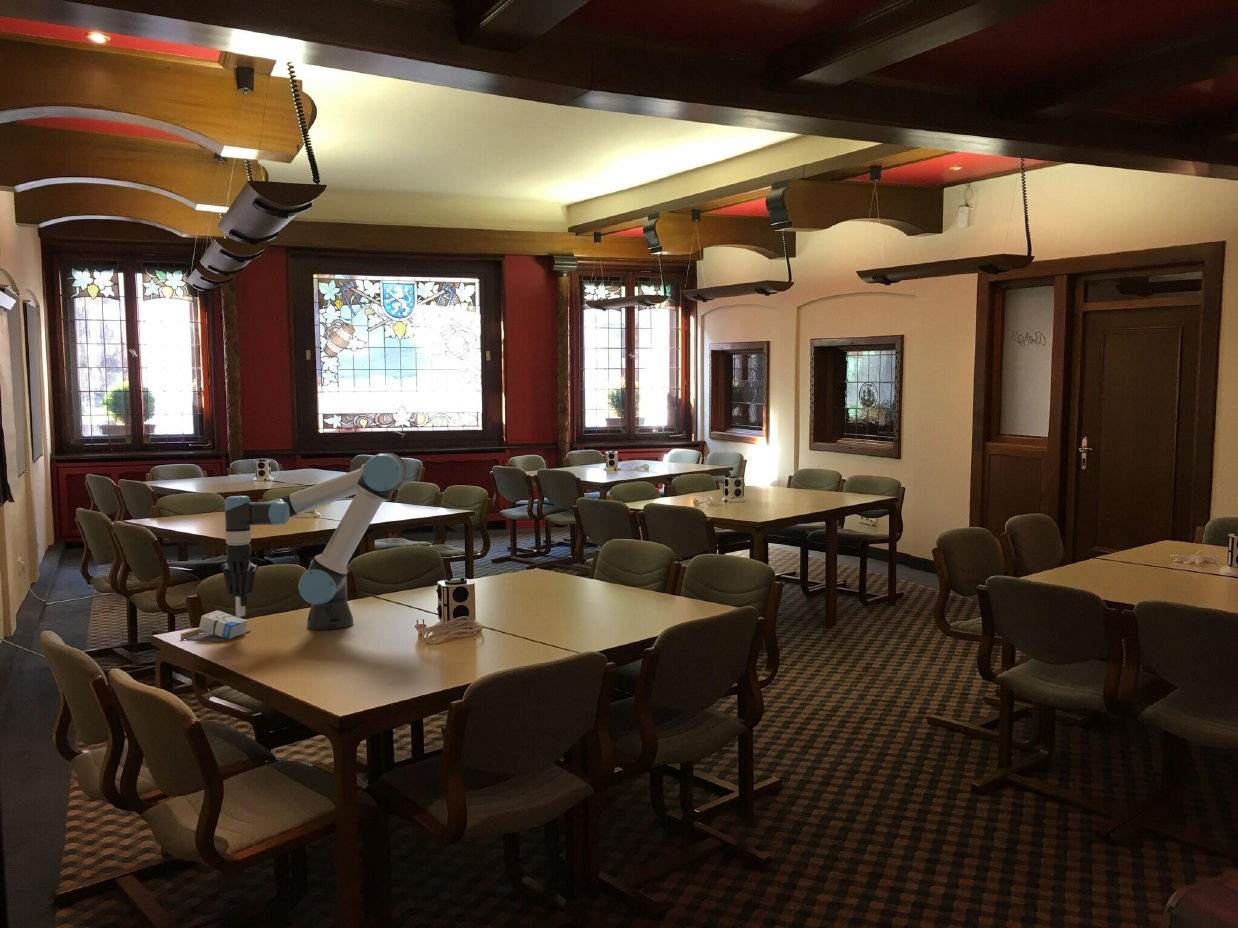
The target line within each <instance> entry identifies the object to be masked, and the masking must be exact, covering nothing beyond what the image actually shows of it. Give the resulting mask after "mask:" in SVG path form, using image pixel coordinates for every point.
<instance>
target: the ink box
mask: <svg viewBox="0 0 1238 928" xmlns="http://www.w3.org/2000/svg"><path fill="white" fill-rule="evenodd" d="M199 621H200V623H199V627H198V628H199V629H200V630H203V631H206V632H209V633H212V634H215V635H217V636H220V637H223V638H226V639H227V640H232V639H234V638H236V637H239V635H240V636H242V634H243V635H245V630H247V625H248V620H247V619H244V618H241V617H236V615H233V614H230V613H226V612H224V611H221V610H215V611H211V612H209V613H206V614H203V615H201V618H200V620H199Z"/></svg>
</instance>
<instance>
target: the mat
mask: <svg viewBox="0 0 1238 928" xmlns="http://www.w3.org/2000/svg"><path fill="white" fill-rule="evenodd" d="M203 632H204V633H203ZM251 632H252V631H251V630H248V629H246V630H245V634H248V633H251ZM199 633H203V634H199ZM245 634H242V635H245ZM242 635H239V636H242ZM239 636H238V637H239ZM181 639H186V640H185V641H193V642H195V641H197V642H211V643H212V642H213V643H221V642H223V641H224V642H225V641H227V640H228V639H226V638H223V637H220V636H217V635H215V634H212V633H209V632H206V631H203V630H200V629H199V627H198V628H195V629H192V630H188V631H186V632H182V633H180V640H181Z"/></svg>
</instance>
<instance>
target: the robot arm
mask: <svg viewBox="0 0 1238 928" xmlns="http://www.w3.org/2000/svg"><path fill="white" fill-rule="evenodd" d="M406 469H407V468H406V463H405V462H404V460H403V459H402V457H401V456H399V455H398V454H395V453H391V452H384V453H377V454H375V455H373V456H371V457H370V458H369V459H368V460H367V461H366V462H365V463H364V464H361V466H360V468H358V469H355V470H352V471H350V472H347V473H345V474H342V475H341V474H340V475H339V476H336V477H334V478H333V477H332V478H330V479H328V480H326V481H322V482H319V483H317V484H315V485H311V486H309V487H306V488H304V489H300V490H297V491H295V492H292V493H289V494H287V495H284V496H280V497H278V498H275V499H272V500H270V501H269V500H268V501H251V499H250V497H249V496H248V495H233V496H231V495H230V496H228V497H225V500H224V520H225V543H226V546H225V555H226V557H227V559H226V562H225V563H224V564H220V569H221V571H222V573H223V577H224V581H225V585H226V591H227V593H228V594H229V595H232V596H233V605H234V606H235V616H236V617H239V618H241V617H244V616H246V606H247V604H248V603H247V602H248V600H247V596H248V595H251V594H253V588H254V584H255V577H256V573H257V570H258V568H259V565H258V564H254V563H252V559H251V555H252V544H251V543H250V542H252V540H251V539H252V537H251V536H252V535H251V526H265V525H266V526H279V525H286V524H287V523H288V522H289V520H290V519H291V518H294V517H296V516H298V515H301V514H304V513H306V512H310V511H312V510H315V509H317V508H320V507H323V506H326V505H329V504H331V503H334V502H337V501H339V500H343V499H345V498H348V497H351V496H353V495H354V497H353V499H352V501H351V502H350V504H349V506H348V507H347V509H346V511H345V513H344V515H343V516H342V518H341V520H340V521H339V523H338V524H337V527H336V529H335V530H334V532H333V534H332V536H331V537H330V539H329V541H328V543H327V544H326V547H325V548H324V549H323V552H322V553H320V554H317V555H315V556H314V558H313V559H312V560H310V564H309V566H308V568H307V570H306V571H305V572H304V573H303V574H301V576H300V579H299V581H298V587H297V588H298V593H299V594H300V596H301V597H302V598H303V600H304V601H305V602H307V603H309V604H311V607H310V609H309V613H308V617H307V620H306V627H307V629H309V630H316V631H322V630H324V631H328V630H338V629H343V628H347V627H348V628H349V627H351V626H353V625H354V616H353V614H352V611H351V609H350V608H351V607H350V605H349V602H348V582H347V579H348V578H347V575H348V573H349V572H348V568H347V566H348V563H349V561H350V559H351V558H352V556H353V554H354V553H355V551H356V549H357V547H358V546H359V544H360V542H361V540H362V539H363V536H364V535H365V534H366V531H367V530H368V528H369V526H370V524H371V523H372V521H373V519H374V518H375V515H376V514H377V512H378V510H379V509H380V506H381V505H382V503H384V502H388V501H390V499H391V497H392V495H393V494H394V492H395V489H397V486H398V485H400V484H401V482H403V480H404V478H405V476H406V472H407V470H406Z"/></svg>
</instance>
